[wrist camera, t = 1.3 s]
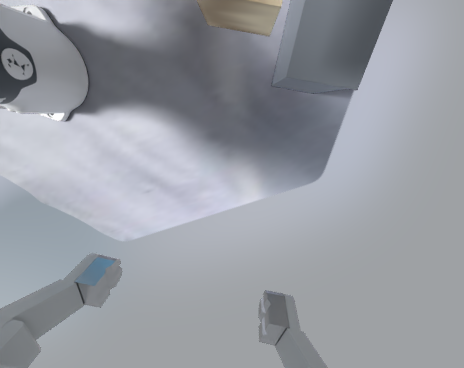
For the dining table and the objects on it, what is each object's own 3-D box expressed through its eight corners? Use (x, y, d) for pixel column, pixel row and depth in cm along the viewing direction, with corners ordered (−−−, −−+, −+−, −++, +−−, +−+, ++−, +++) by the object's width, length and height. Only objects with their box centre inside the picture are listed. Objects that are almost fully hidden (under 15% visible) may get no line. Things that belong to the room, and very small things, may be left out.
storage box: (269, 87, 35) (286, 77, 21) (300, -53, 27) (355, -202, 14) (313, 94, 35) (357, 89, 21) (356, -42, 27) (464, -180, 14)
